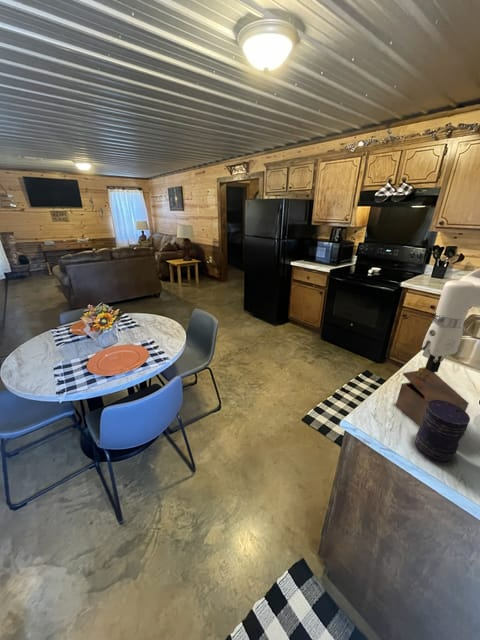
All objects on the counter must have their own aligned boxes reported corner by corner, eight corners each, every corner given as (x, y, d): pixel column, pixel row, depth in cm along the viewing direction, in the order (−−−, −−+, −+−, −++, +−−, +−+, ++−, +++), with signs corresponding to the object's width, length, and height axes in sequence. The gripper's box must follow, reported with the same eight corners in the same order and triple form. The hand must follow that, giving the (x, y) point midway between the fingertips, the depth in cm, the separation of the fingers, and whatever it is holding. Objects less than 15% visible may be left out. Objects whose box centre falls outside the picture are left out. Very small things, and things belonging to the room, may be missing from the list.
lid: (402, 374, 93) (408, 364, 91) (428, 370, 96) (435, 360, 93) (439, 411, 81) (446, 401, 78) (467, 405, 84) (476, 395, 81)
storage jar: (429, 465, 75) (445, 425, 69) (406, 437, 84) (419, 400, 78) (461, 463, 76) (480, 423, 70) (436, 436, 85) (450, 398, 79)
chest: (395, 405, 98) (401, 383, 94) (420, 400, 101) (427, 379, 97) (430, 435, 85) (439, 411, 81) (458, 428, 88) (468, 405, 84)
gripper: (440, 327, 77) (422, 379, 84) (479, 323, 80) (459, 373, 87) (418, 318, 83) (404, 367, 90) (455, 314, 87) (438, 361, 94)
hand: (431, 370), depth 89 cm, fingers closed
